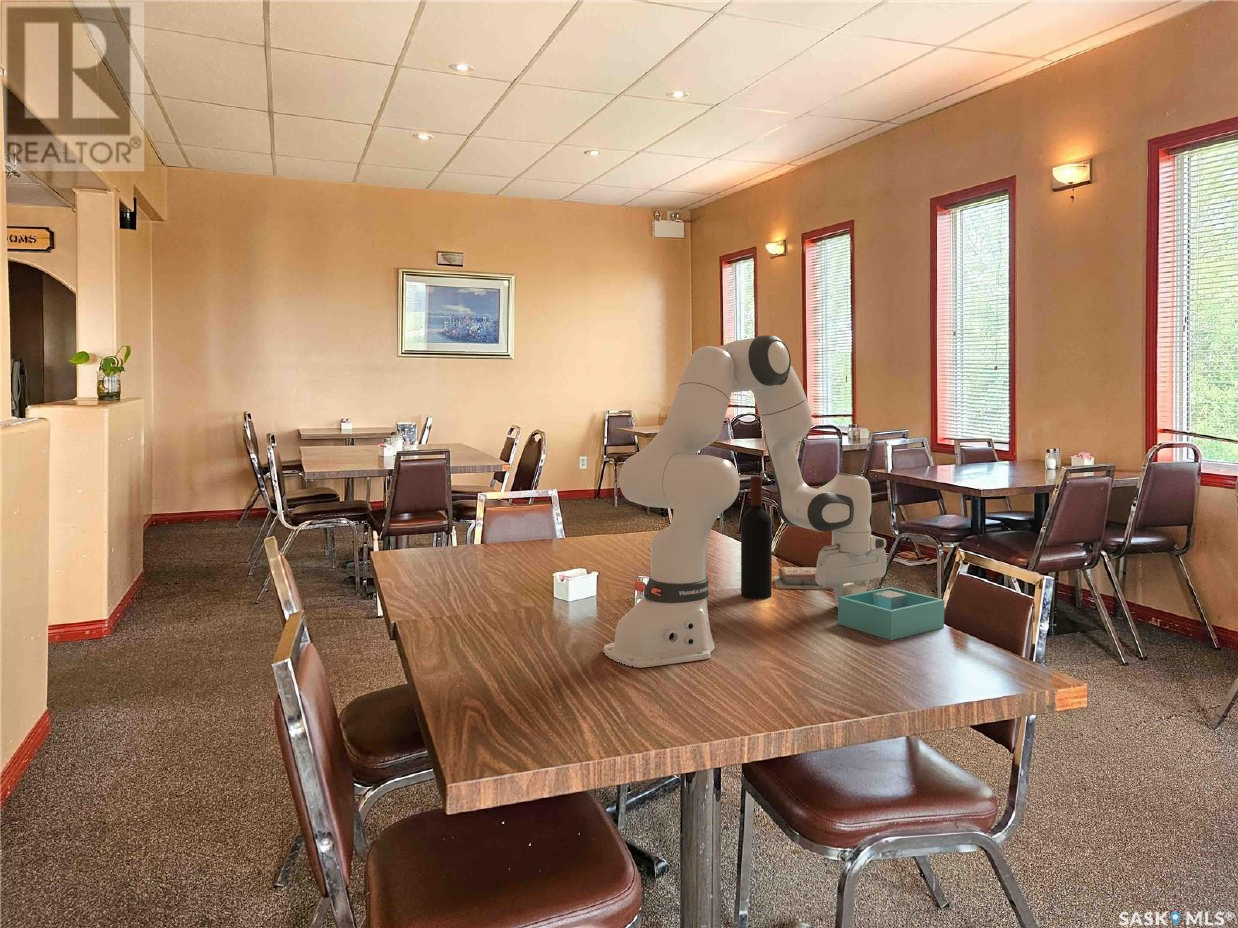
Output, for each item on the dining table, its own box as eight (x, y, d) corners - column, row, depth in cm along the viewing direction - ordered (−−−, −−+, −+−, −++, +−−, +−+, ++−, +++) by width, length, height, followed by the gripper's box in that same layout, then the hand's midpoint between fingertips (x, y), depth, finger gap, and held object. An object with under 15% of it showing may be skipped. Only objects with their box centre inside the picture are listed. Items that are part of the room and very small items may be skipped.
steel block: (890, 625, 178) (891, 597, 178) (872, 620, 182) (872, 593, 182) (906, 621, 181) (907, 594, 180) (888, 616, 185) (888, 590, 184)
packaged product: (841, 564, 225) (847, 572, 215) (840, 582, 225) (847, 591, 215) (773, 564, 226) (776, 572, 216) (773, 581, 227) (776, 590, 217)
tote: (891, 640, 171) (891, 611, 171) (837, 623, 183) (838, 597, 183) (943, 627, 180) (944, 599, 179) (889, 612, 192) (890, 587, 192)
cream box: (851, 610, 194) (851, 589, 194) (835, 606, 199) (835, 585, 198) (866, 607, 197) (866, 586, 197) (850, 603, 201) (850, 582, 201)
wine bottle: (737, 597, 208) (737, 477, 205) (745, 591, 215) (745, 474, 212) (768, 600, 205) (768, 478, 202) (774, 593, 212) (774, 475, 209)
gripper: (829, 548, 188) (828, 609, 190) (891, 539, 199) (890, 596, 200) (809, 544, 194) (808, 603, 195) (870, 536, 204) (870, 591, 206)
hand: (850, 600), depth 198 cm, fingers closed on cream box, 5 cm apart
